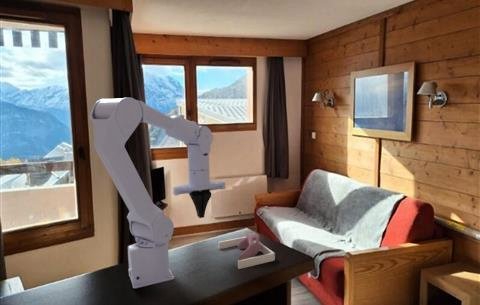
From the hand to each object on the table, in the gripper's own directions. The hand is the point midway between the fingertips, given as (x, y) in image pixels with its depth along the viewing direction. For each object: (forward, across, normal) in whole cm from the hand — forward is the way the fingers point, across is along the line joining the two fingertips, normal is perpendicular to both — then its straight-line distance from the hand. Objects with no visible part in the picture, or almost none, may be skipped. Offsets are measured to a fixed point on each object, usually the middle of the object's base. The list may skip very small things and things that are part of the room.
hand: (200, 216), depth 96 cm
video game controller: (+11, -11, +8) cm, 17 cm away
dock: (+10, -10, +7) cm, 16 cm away
